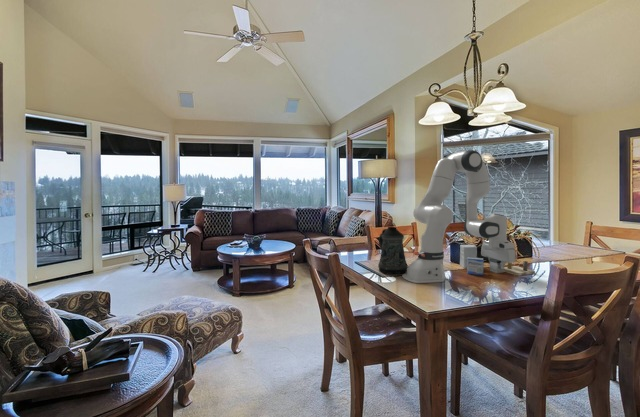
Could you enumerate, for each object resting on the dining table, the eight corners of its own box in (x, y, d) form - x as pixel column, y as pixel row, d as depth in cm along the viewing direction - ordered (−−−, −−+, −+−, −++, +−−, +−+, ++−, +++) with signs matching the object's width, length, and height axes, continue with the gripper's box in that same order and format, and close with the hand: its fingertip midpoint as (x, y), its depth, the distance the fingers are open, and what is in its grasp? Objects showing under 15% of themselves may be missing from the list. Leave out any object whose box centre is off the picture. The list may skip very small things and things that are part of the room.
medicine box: (466, 273, 178) (467, 258, 178) (467, 271, 182) (467, 256, 182) (483, 275, 175) (483, 259, 174) (483, 273, 179) (483, 258, 178)
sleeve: (496, 273, 178) (497, 260, 178) (489, 270, 184) (489, 258, 183) (504, 272, 180) (504, 259, 179) (496, 269, 185) (496, 257, 185)
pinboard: (518, 275, 174) (518, 264, 173) (499, 269, 185) (499, 259, 184) (534, 273, 177) (535, 262, 177) (515, 267, 189) (516, 257, 188)
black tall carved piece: (400, 276, 175) (400, 230, 173) (368, 271, 187) (368, 228, 185) (412, 269, 188) (412, 227, 186) (381, 265, 200) (381, 224, 198)
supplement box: (472, 265, 196) (472, 244, 195) (476, 268, 189) (477, 246, 188) (459, 265, 197) (459, 244, 196) (463, 268, 190) (464, 246, 189)
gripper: (478, 240, 189) (478, 263, 190) (508, 246, 170) (507, 272, 171) (487, 239, 191) (486, 262, 192) (517, 245, 172) (517, 271, 173)
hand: (496, 267), depth 182 cm, fingers closed on sleeve, 5 cm apart
